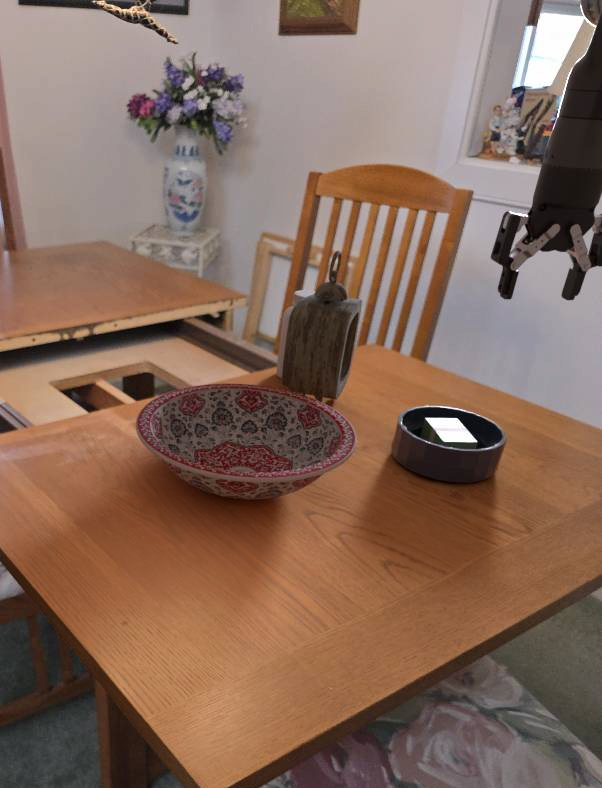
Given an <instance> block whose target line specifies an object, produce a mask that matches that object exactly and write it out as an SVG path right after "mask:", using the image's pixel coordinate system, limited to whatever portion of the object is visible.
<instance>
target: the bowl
mask: <svg viewBox="0 0 602 788" xmlns="http://www.w3.org/2000/svg"><path fill="white" fill-rule="evenodd" d="M425 418H457V419H458V420H459V421H460V422H461V423H462V425H463V426H464V427H465V428H466V429H467V430H468V431H469V433H470V434H471V435H472V436H473V437H474V438H475V440H476V441H477V442H478V444H477V447H476V449H458V448H451V447H445V446H441V445H438V444H434V443H431V442H428V441H426V440H423V439H421V438H420V436H421V432H422V428H423V424H424V420H425ZM507 440H508V436H507V433H506V431H505V430H504V429H503V428H502V426H501V425H499V423H497V422H495V421H493V420H492V419H490V418H489V417H486V416H483V415H481V414H478V413H477V412H473V411H469V410H466V409H462V408H457V407H451V406H445V405H444V406H443V405H422V406H413V407H411V408H408V409H405V410H403V411H402V412H401V413H400V414H399V415H398V416H397V420H396V425H395V429H394V433H393V438H392V442H391V449H390V453H391V454H392V457H394V459H395V461H396V462H398V463H399V464H400V465H401V466H402V467H403V468H406V469H408V470H409V471H412V472H414V473H415V474H418V475H420V476H423V477H427V478H430V479H434V480H439V481H443V482H450V483H475V482H481V481H486V480H487V479H489V478H492V477H493V476H494V475H495V474H496V472H497V470H498V469H499V465H500V463H501V459H502V457H503V453H504V450H505V447H506V445H507V444H506V443H507Z"/></svg>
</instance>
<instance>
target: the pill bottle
mask: <svg viewBox="0 0 602 788" xmlns="http://www.w3.org/2000/svg"><path fill="white" fill-rule="evenodd" d="M315 291H316V290H309V289H300V290H296V291H294V293H293V296H292V302H291V305H292V306H289V307H288V308H286V309H285V310H284V312H283V315H282V322H281V329H280V336H279V337H280V339H279V345H278V346H279V347H278V353H277V361H276V375H277V376H278V377H279V378H280V379H282V370H283V361H284V352H285V344H286V336H287V329H288V323H289V318H290V314H291V312H292V310H293V309H294V307H295V306H296V305H297V304H298V302H299V301H300V300H302V299H303V298H305V297H307V296H310V295H313V294H314V293H315Z"/></svg>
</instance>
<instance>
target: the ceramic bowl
mask: <svg viewBox="0 0 602 788" xmlns="http://www.w3.org/2000/svg"><path fill="white" fill-rule="evenodd" d="M135 431H136V434H137V437H138V439H139V441H140V442H141V444H142V445H143V446H144V447H145V448H146V449H147V450H148V451H149V452H150V453H152V454H153V455H154V456H156V457H158V458H159V459H160V460H161V461H162V462H163V464H164V465H165V466H166V467H167V468H168V469H169V470H170V471H171V472H172V473H173V474H175V475H176V476H177V477H178V478H180V479H181V480H183V481H184V482H185V483H187V484H189V485H190V486H193V487H194V488H197V489H199V490H201V491H203V492H205V493H209V494H213V495H216V496H220V497H224V498H230V499H238V500H263V499H264V500H266V499H272V498H278V497H283V496H286V495H289V494H293V493H294V492H297V491H300V490H302V489H304V488H306V487H307V486H309V485H311V484H313V483H314V482H316V481H317V480H319V478H321V477H323V475H325V474H326V473H328V472H331V471H333V470H335V469H337V468H338V467H341V465H343V464H345V463H346V462H347V461H348V460H349V459H350V457H351V456H352V455H353V453H354V452H355V450H356V446H357V434H356V433H357V432H356V431H355V429H354V427H353V425H352V423H350V421H349V420H348V419H347V418H346V416H344V415H343V414H341V413H340V412H339V411H338V410H337V409H335V408H333V407H332V406H329V405H327V404H326V403H324V402H323V401H322V402H320V401H317V400H316V398H313V397H310V396H308V395H305V396H304V395H302V394H301V393H296V392H291V391H290V390H286V389H284V388H283V389H282V388H279V387H278V388H276V387H273V386H272V387H271V386H266V385H257V384H248V383H247V384H246V383H208V384H200V385H193V386H188V387H183V388H178V389H175V390H172V391H169V392H166V393H164V394H161V395H159V396H157V397H155V398H154V399H152V400H149V402H148V403H146V404H145V405H144V406H143V407H142V408H141V409H140V411H139V412H138V414H137V416H136V420H135Z"/></svg>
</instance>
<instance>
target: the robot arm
mask: <svg viewBox="0 0 602 788" xmlns="http://www.w3.org/2000/svg"><path fill="white" fill-rule="evenodd" d="M579 2H580V3H579V5H580V11H581V12H582V15H583V17H584V19H585V20H586V22H587V23H589V24H590V25H591V26H593V27H595V28H594V30H593V33H592V36H591V39H590V42H589V44H588V47H587V49H586V52H585V54H584V55H583V56H582V57H581V58H579V59H578V60H577V61H576V62H575V63H574V64H573V66H571V67H572V68H571V70H570V72H569V74H568V77H567V80H566V83H565V87H564V90H563V94H562V98H561V101H560V105H559V109H558V113H557V116H556V119H555V122H554V125H553V127H552V130H551V132H550V135H549V138H548V141H547V144H546V147H545V150H544V151H543V159H542V163H541V167H540V170H539V174H538V178H537V181H536V183H535V189H534V192H533V196H532V201H531V203H532V204H531V207H530V209H529V211H528V212H527V213H526V214H522V213H515V212H513V211H510V210H507V211H505V212H504V213H503V215H502V218H501V222H500V225H499V227H498V231H497V234H496V238H495V241H494V244H493V248H492V251H491V255H490V260H491V261H493V262H495V263H497V264H498V265H500V266H501V267H502V270H501V273H500V278H499V281H498V285H497V293H499V296H500V298H502V299H503V300H512V298H513V295H514V291H515V289H516V284H517V281H518V277H519V273H520V271H519V269H520V267H521V266H522V265H523V264H524V263H525V262H526V261H527V260H529V259H530V258H532V257H534V256H535V255H536V254H537V253H538V252H539V251H540V252H542V253H549V252H553V251H555V252H556V251H557V252H559V253H567V254H568V256H569V259H570V262H571V265H572V267H569V268H568V272H567V275H566V278H565V281H564V284H563V287H562V290H561V295H560V296H561V298H562V299H564V300H566V301H574V300H575V298H576V297H578V296H579V294H580V293H581V290H582V288H583V284H584V280H585V278H586V275H587V272H588V271H589V270H590V269H592V268H596V267H598V268H599V267H602V213H600V214H599V215H595V211H596V210H595V209H596V207H597V206H598V205H599V203H600V200H601V198H602V0H580V1H579ZM522 227H525V230H526V232H525V234H524V235H523V236H522V237H521V238H520V239H519V240H518V241H517V242H516V243H515V245H514V242H515V238H516V236H517V233H519V232H520V231H521V230H522ZM591 229H592V232H593V234H592V239H591V243H590V246H589V250H588V247H587V245H586V241H585V239H584V236H585V235H586V234H587V233H588V232H589V231H590V230H591ZM513 245H514V248H512V247H513Z"/></svg>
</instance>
